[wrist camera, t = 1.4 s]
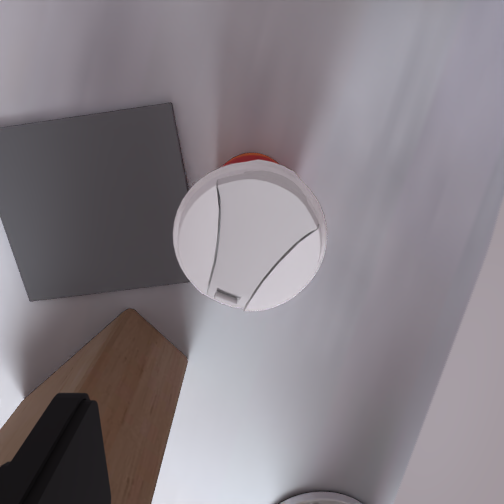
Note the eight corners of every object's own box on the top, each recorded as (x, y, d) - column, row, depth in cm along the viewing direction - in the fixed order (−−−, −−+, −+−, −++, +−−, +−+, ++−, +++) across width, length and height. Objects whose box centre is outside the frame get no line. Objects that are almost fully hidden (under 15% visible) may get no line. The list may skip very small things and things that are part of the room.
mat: (204, 277, 36) (204, 280, 35) (32, 298, 37) (29, 301, 36) (171, 102, 31) (170, 102, 31) (-25, 131, 32) (-30, 131, 32)
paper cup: (276, 249, 35) (289, 341, 22) (188, 213, 34) (146, 287, 21) (319, 161, 32) (362, 204, 19) (225, 119, 32) (203, 134, 18)
